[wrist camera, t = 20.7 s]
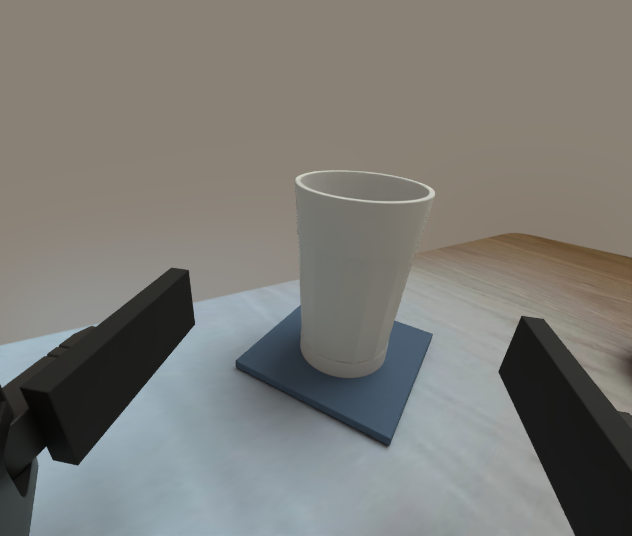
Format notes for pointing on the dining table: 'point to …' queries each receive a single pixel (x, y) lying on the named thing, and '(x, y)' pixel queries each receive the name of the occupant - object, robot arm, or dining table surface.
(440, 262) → the dining table surface
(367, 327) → the cup
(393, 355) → the mat
